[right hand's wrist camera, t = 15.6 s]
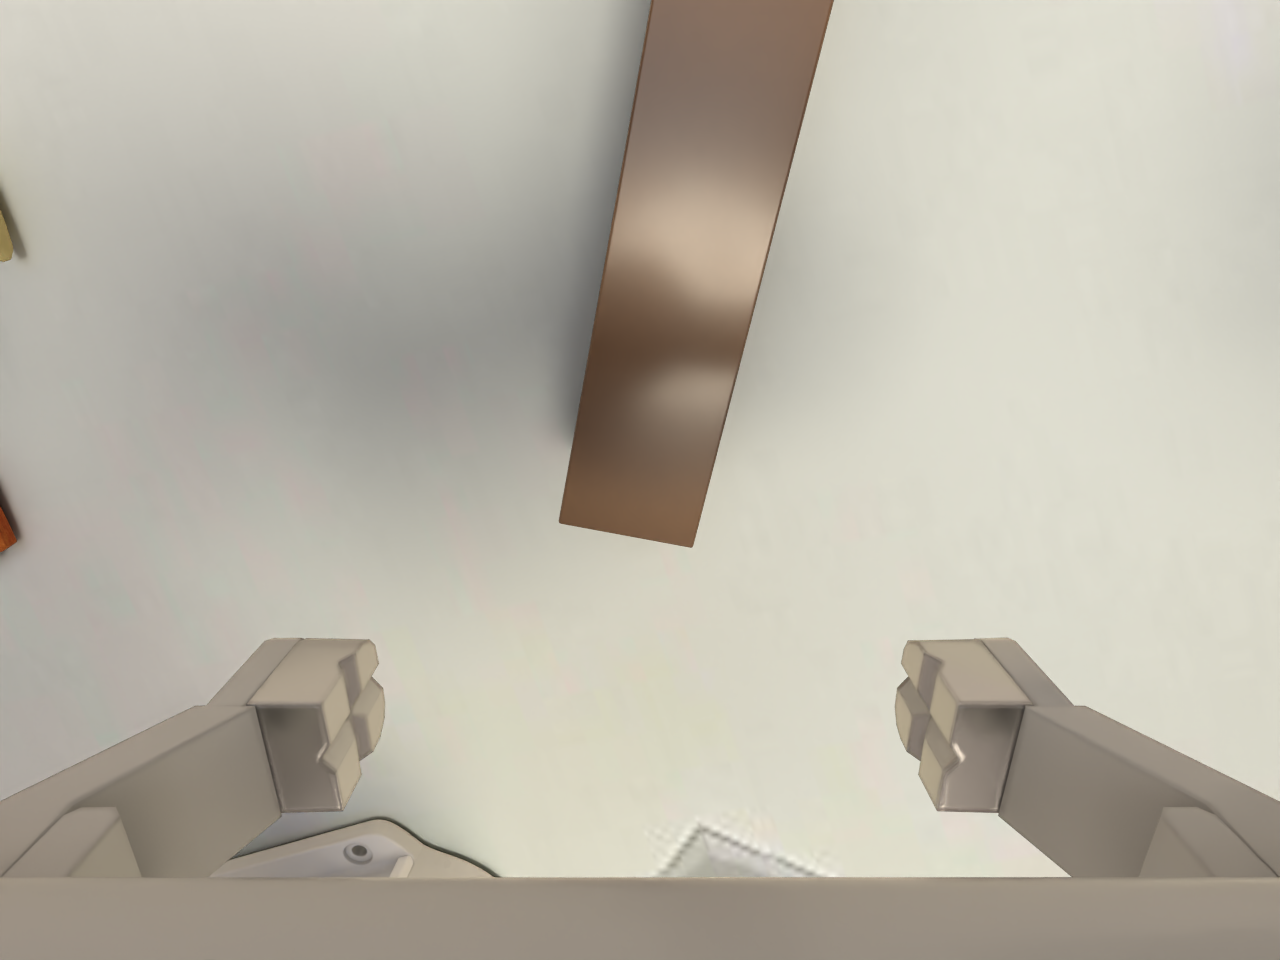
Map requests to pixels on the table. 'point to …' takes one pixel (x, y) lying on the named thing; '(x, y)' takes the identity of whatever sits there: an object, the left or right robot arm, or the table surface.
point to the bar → (687, 255)
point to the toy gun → (3, 535)
